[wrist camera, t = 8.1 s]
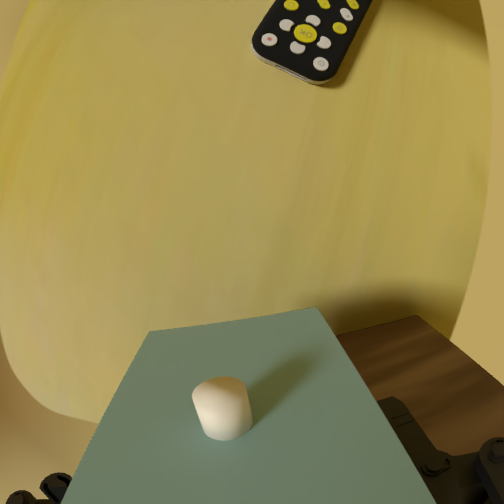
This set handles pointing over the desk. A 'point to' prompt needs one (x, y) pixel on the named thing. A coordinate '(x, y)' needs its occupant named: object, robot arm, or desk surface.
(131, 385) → the cabinet
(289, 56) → the remote control
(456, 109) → the desk surface
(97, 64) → the desk surface
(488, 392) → the wall board
